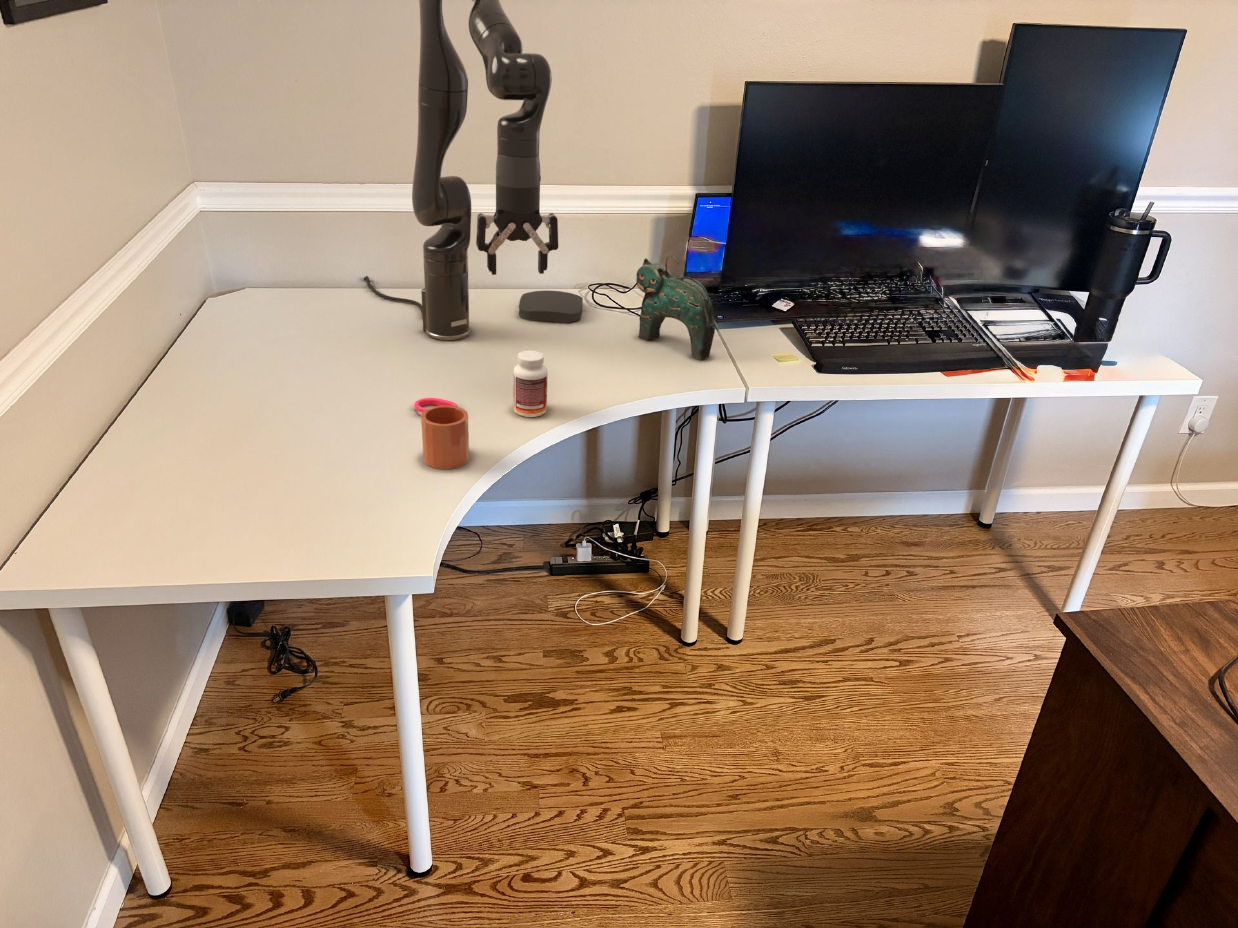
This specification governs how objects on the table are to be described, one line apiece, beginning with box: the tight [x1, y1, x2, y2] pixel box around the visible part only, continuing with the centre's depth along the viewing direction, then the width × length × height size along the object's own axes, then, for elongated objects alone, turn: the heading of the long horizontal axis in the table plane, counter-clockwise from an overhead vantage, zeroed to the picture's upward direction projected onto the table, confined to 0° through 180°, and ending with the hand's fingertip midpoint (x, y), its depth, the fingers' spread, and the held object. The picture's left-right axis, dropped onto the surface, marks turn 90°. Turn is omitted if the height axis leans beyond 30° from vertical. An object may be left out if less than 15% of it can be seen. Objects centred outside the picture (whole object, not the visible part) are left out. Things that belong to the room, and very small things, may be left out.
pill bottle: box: [512, 350, 548, 418], centre depth 165 cm, size 6×6×11 cm
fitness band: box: [414, 397, 459, 417], centre depth 165 cm, size 8×6×2 cm
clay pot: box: [420, 405, 470, 470], centre depth 148 cm, size 7×7×8 cm
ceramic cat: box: [636, 254, 716, 361], centre depth 195 cm, size 20×6×20 cm, turn 47°
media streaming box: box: [518, 290, 584, 323], centre depth 213 cm, size 15×15×3 cm
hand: (517, 273), depth 163 cm, fingers open, 8 cm apart
